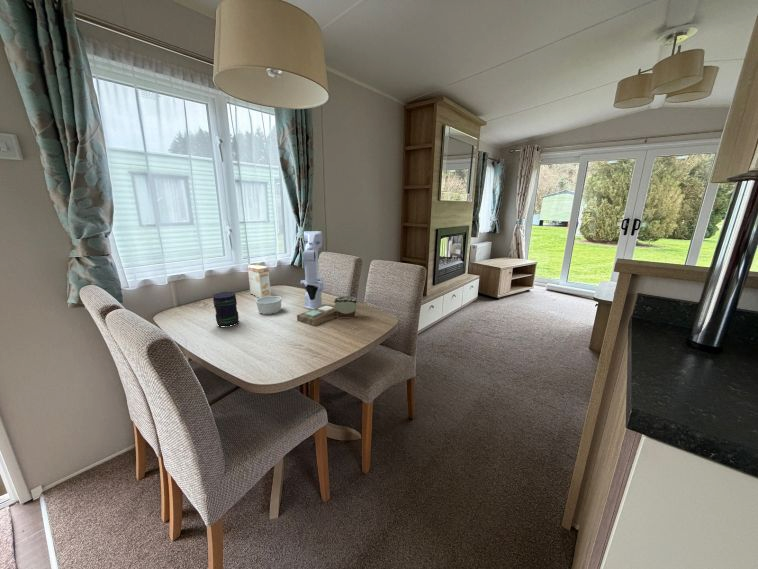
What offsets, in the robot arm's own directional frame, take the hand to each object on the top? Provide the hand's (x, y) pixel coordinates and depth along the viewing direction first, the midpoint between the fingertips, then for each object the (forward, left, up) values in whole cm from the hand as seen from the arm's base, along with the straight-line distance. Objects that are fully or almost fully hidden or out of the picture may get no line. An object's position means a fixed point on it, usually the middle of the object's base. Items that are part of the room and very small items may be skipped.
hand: (312, 299), depth 151 cm
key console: (+4, +1, -9) cm, 10 cm away
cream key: (+4, +6, -8) cm, 11 cm away
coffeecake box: (-57, +7, -10) cm, 58 cm away
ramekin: (-26, -8, -10) cm, 29 cm away
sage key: (+4, -3, -8) cm, 10 cm away
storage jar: (-27, -31, -10) cm, 42 cm away
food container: (+14, +11, -10) cm, 20 cm away
